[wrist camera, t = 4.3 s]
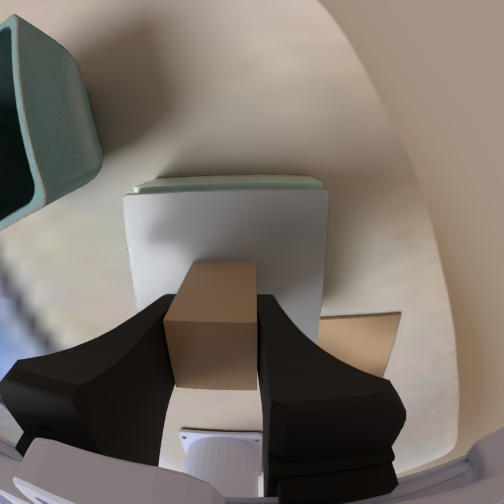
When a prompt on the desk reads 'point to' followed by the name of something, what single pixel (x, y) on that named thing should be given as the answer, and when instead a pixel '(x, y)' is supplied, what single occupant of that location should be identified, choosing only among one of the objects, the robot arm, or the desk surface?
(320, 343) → the mat
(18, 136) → the flower pot
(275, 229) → the lid
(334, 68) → the desk surface
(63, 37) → the desk surface
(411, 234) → the desk surface
